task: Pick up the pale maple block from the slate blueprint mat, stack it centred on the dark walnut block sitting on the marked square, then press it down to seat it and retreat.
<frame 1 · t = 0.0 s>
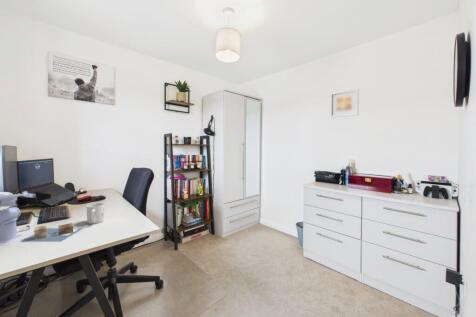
hand: (43, 198, 103), 22 cm above the table, tool horizontal, fingers open, 7 cm apart
maple block: (40, 236, 106), resting on blueprint mat
mug: (95, 223, 127), on the table
walnut base: (65, 232, 113), resting on blueprint mat
blueprint mat: (53, 235, 110), on the table
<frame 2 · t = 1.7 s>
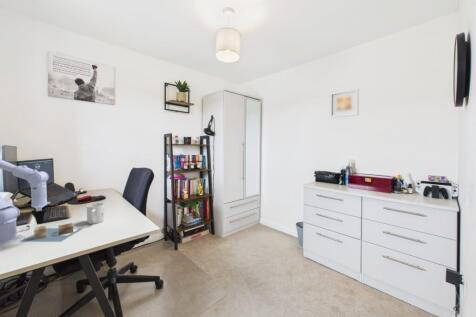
hand: (40, 221, 106), 9 cm above the table, tool pointing down, fingers open, 7 cm apart
nothing on the table moved.
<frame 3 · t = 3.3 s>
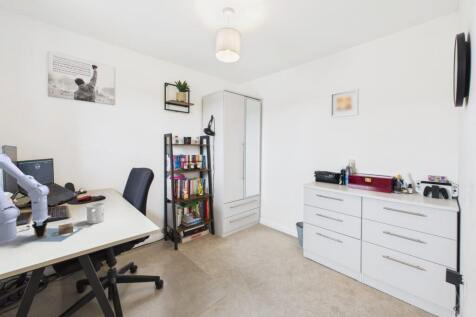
hand: (40, 234, 106), 2 cm above the table, tool pointing down, fingers closed on maple block, 4 cm apart
maple block: (40, 236, 106), resting on blueprint mat, touching gripper
everything else where it was.
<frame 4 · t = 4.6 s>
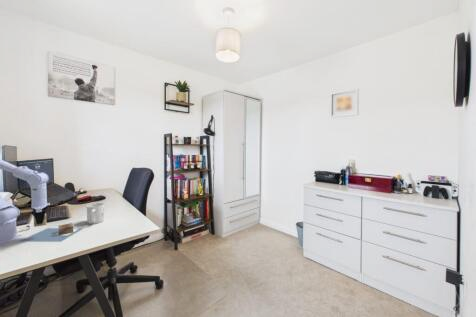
hand: (40, 222, 106), 8 cm above the table, tool pointing down, fingers closed on maple block, 4 cm apart
maple block: (40, 224, 106), point 7 cm above the table, touching gripper
everything else where it was.
when the fingers open (7 cm above the table, at t = 6.1 s): maple block drops 1 cm, resting on walnut base.
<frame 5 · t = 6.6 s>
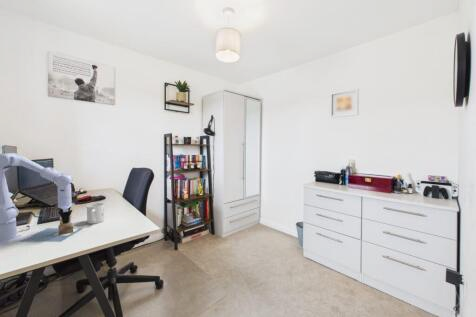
hand: (65, 221, 112), 7 cm above the table, tool pointing down, fingers open, 7 cm apart
maple block: (65, 226, 113), point 4 cm above the table, touching walnut base
walnut base: (65, 232, 113), resting on blueprint mat, touching maple block
everything else where it was.
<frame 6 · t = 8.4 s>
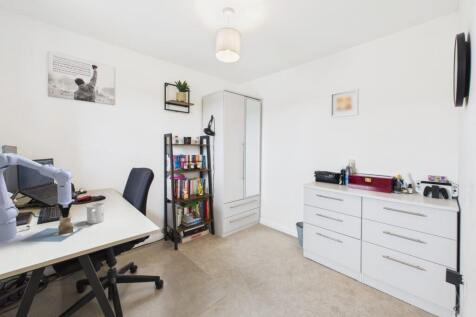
hand: (65, 217, 112), 9 cm above the table, tool pointing down, fingers closed, pressing on maple block
maple block: (65, 226, 113), point 4 cm above the table, touching gripper, walnut base
everything else where it was.
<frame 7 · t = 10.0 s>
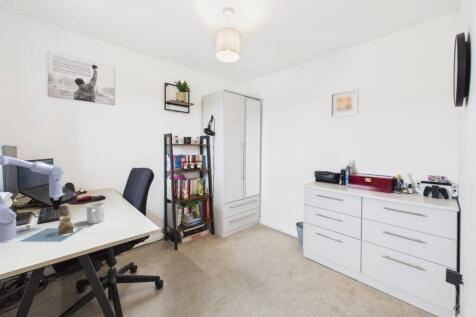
hand: (56, 209, 120), 10 cm above the table, tool pointing down, fingers closed
maple block: (65, 226, 113), point 4 cm above the table, touching walnut base
everything else where it was.
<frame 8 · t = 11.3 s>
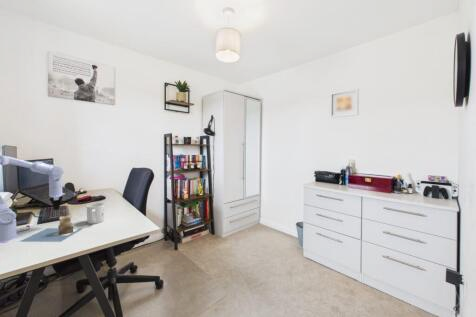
hand: (56, 209, 120), 10 cm above the table, tool pointing down, fingers closed
nothing on the table moved.
at the end: maple block 0.2 cm from the walnut base (horizontally); maple block point 3.9 cm above the table; maple block tilted 0° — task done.
